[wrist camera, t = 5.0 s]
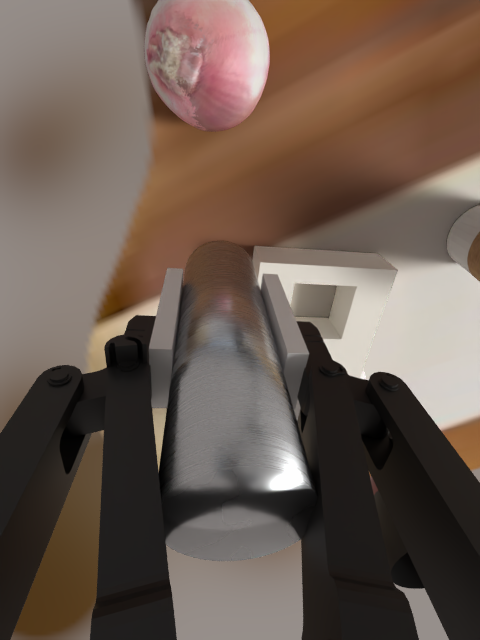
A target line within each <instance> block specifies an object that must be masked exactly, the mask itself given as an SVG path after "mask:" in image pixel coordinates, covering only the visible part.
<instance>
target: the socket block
mask: <svg viewBox="0 0 480 640" xmlns="http://www.w3.org/2000/svg"><path fill="white" fill-rule="evenodd" d="M252 262H253V265H254V268H255V272H256V275H257V279H258V283H259V286H260V290H261V283H262V276H263V274H278V277H279V279H280V282H281V284H282V287H283V289H284V292H285V294H286V297H287V299H288V302H289V304H290V305H291V300H292V295H293V290H294V284H295V283H301V284H320V285H337V289H336V292H335V296H334V300H333V304H332V308H331V311H330V315H329V318H320V317H295V319H296V321H304V322H311V323H312V324H313V325H314V326H316V327H317V328H318V330H319V332H320V334H321V337H322V338H323V340H324V343H325V345H326V347H327V349H328V351H329V353H330V355H331V357H332V359H333V361H336V362H338V363H340V364H341V365H342V366H343V367H344V368H345V369H346V371H347V373H348V375H350V376H353V377H357V378H360V377H361V374H362V371H363V368H364V365H365V362H366V360H367V357H368V354H369V351H370V348H371V345H372V342H373V340H374V337H375V334H376V331H377V328H378V325H379V322H380V320H381V317H382V314H383V311H384V308H385V305H386V302H387V300H388V297H389V294H390V291H391V288H392V285H393V282H394V280H395V277H396V274H397V271H398V270H397V269H396V268H395V267H393V266H392V265H391V264H390V263H389V262H387V261H386V260H385V259H384V258H383V257H382V256H380V255H379V254H377V253H361V252H345V251H330V250H314V249H298V248H282V247H266V246H254V252H253V260H252ZM300 409H301V407H300V404H299V401H298V400H297V404H296V408H295V409H294V412H295V416H296V419H297V420H298V416H299V412H300Z"/></svg>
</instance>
